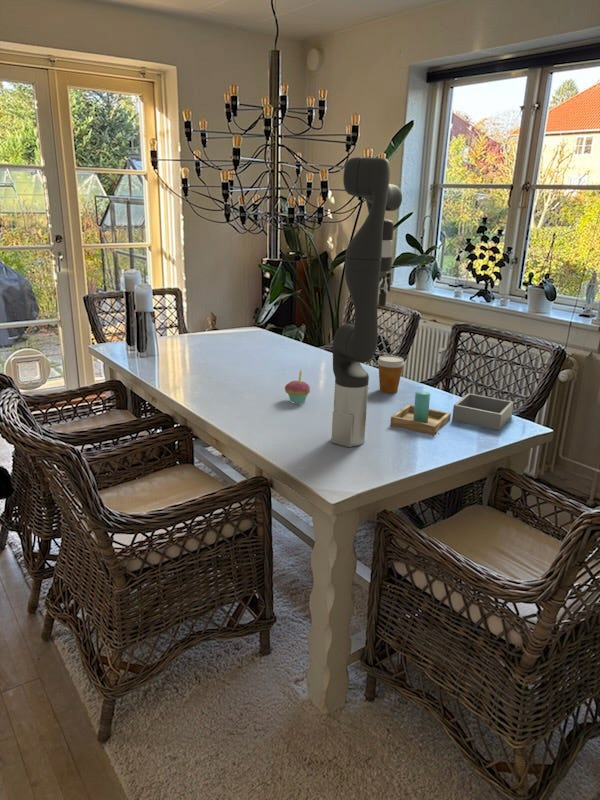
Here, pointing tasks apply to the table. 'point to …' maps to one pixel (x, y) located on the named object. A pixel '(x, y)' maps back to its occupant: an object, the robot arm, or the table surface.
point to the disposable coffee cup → (390, 373)
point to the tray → (406, 422)
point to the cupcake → (297, 390)
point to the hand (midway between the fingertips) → (376, 307)
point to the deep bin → (483, 411)
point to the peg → (421, 406)
